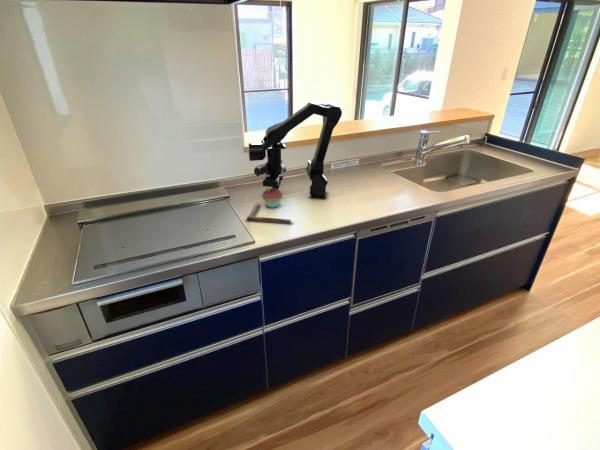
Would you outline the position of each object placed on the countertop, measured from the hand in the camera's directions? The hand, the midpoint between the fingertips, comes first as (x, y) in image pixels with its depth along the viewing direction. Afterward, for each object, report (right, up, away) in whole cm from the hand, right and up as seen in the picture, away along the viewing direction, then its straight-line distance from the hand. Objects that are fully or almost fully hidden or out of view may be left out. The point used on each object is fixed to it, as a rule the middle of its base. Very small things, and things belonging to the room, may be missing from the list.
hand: (275, 193), depth 149 cm
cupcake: (-1, -5, -4) cm, 7 cm away
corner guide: (-1, -9, -11) cm, 15 cm away
